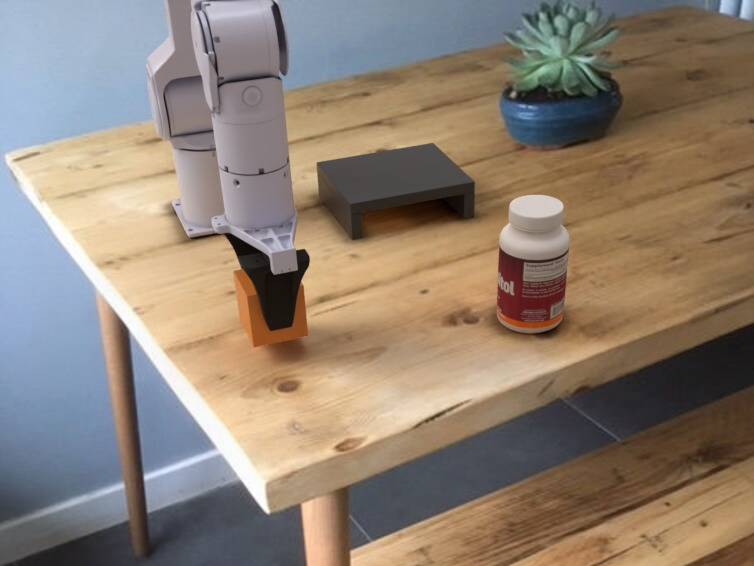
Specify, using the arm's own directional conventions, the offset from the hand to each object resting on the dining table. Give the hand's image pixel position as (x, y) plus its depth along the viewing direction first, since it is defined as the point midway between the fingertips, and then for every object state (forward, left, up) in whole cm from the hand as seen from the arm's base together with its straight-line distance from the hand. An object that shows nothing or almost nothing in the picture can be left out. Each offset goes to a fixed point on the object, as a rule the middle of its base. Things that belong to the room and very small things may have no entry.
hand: (271, 312), depth 92 cm
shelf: (-23, +20, -3) cm, 31 cm away
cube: (0, 0, -2) cm, 2 cm away
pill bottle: (+5, +23, -3) cm, 24 cm away
